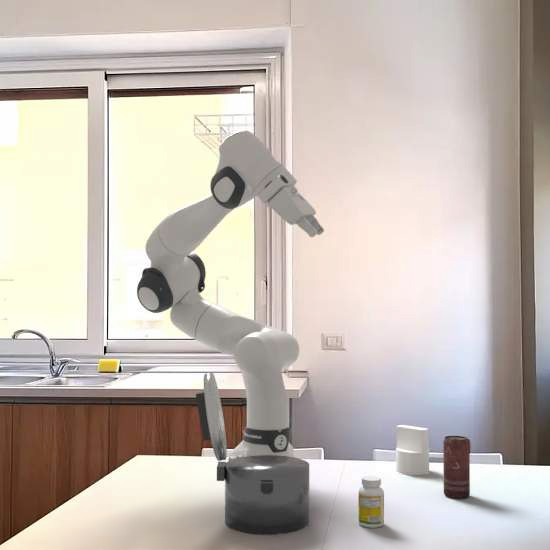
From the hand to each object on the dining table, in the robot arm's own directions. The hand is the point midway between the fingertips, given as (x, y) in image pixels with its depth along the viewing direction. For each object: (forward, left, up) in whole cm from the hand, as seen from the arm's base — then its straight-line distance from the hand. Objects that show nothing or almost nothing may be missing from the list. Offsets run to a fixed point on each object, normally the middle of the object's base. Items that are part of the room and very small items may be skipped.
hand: (318, 234), depth 159 cm
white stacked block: (-17, +46, -62) cm, 79 cm away
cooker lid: (-8, -21, -40) cm, 45 cm away
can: (+7, +37, -62) cm, 73 cm away
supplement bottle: (+12, +5, -62) cm, 63 cm away
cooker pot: (-2, -12, -62) cm, 63 cm away
